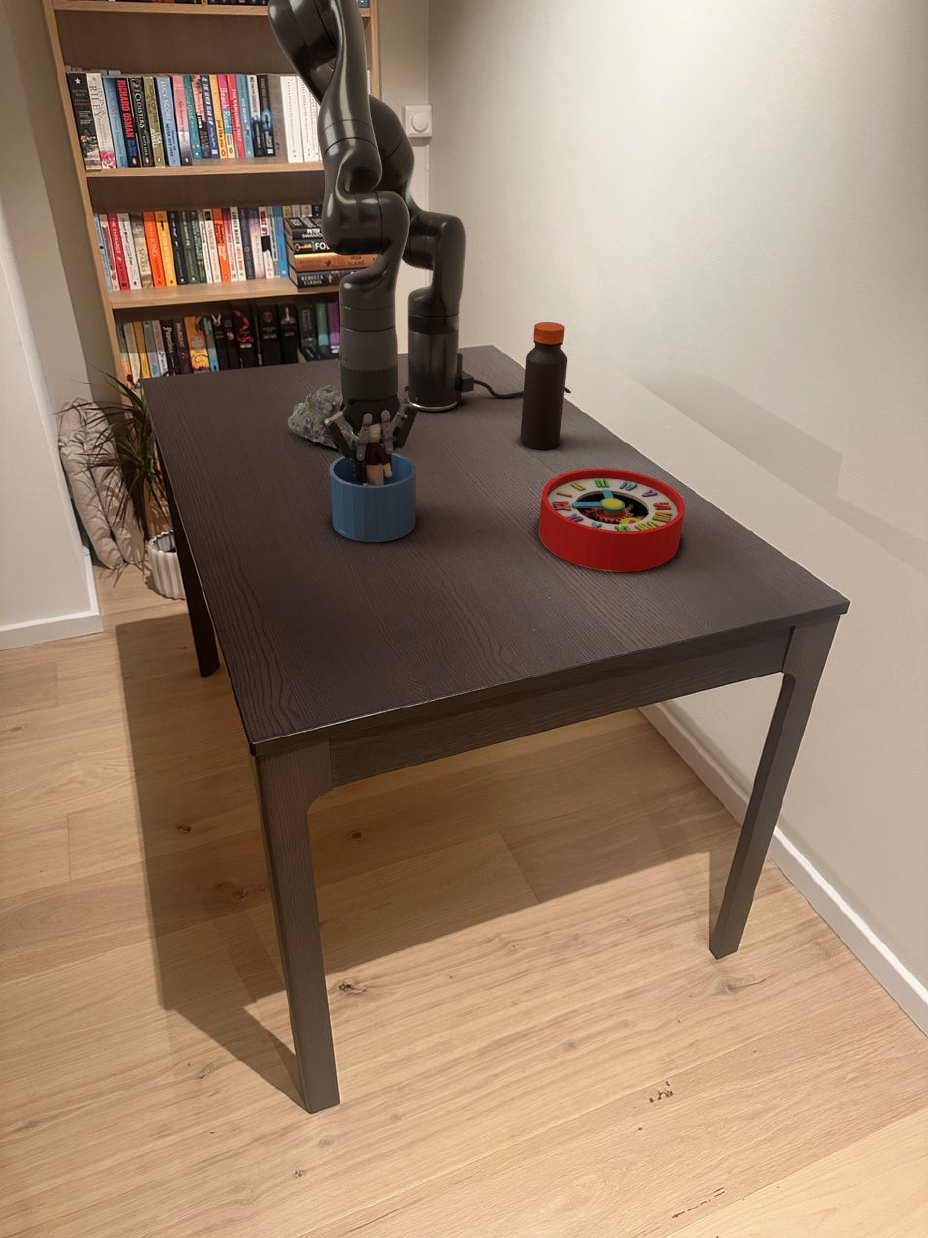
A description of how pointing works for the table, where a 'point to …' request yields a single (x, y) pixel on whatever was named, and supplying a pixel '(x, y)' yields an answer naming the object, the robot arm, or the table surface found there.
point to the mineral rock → (318, 415)
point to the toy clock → (611, 519)
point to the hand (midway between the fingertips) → (372, 478)
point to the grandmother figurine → (376, 459)
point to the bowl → (373, 502)
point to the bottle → (544, 387)
